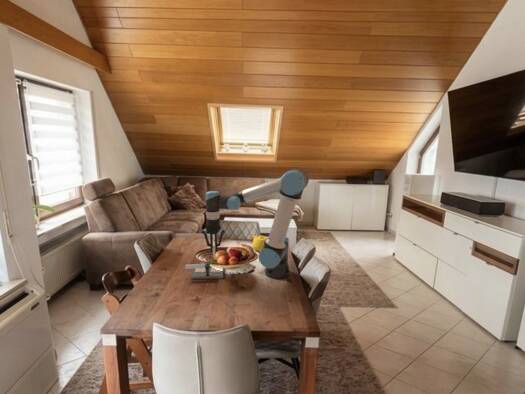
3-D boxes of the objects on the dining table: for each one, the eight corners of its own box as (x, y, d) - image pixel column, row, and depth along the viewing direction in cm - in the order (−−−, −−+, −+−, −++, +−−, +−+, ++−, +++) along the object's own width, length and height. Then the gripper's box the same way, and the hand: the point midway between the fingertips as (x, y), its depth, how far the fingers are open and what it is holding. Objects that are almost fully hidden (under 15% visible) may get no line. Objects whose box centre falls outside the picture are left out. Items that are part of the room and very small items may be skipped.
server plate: (224, 268, 188) (224, 259, 187) (223, 278, 174) (222, 269, 173) (194, 268, 186) (194, 260, 185) (190, 278, 173) (190, 269, 172)
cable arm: (185, 267, 173) (185, 264, 173) (209, 266, 176) (209, 262, 176) (185, 269, 171) (185, 266, 170) (209, 268, 173) (209, 264, 173)
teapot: (275, 252, 216) (276, 237, 214) (263, 256, 209) (264, 241, 207) (259, 245, 229) (259, 231, 227) (247, 248, 222) (247, 234, 220)
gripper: (224, 216, 179) (225, 254, 184) (202, 216, 178) (203, 255, 182) (224, 219, 172) (225, 259, 176) (200, 220, 171) (202, 260, 175)
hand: (214, 257), depth 179 cm, fingers closed
